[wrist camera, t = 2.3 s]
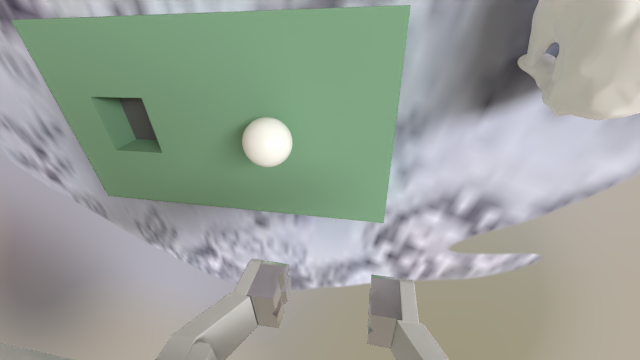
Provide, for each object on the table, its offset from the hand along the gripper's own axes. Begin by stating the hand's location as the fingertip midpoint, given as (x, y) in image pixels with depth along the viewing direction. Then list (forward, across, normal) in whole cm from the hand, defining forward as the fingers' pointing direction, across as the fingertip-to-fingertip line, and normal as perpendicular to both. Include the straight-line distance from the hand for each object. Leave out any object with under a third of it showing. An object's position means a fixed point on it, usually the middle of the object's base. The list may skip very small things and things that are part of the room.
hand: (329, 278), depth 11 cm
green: (+17, +13, 0) cm, 21 cm away
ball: (+12, +7, 0) cm, 14 cm away
